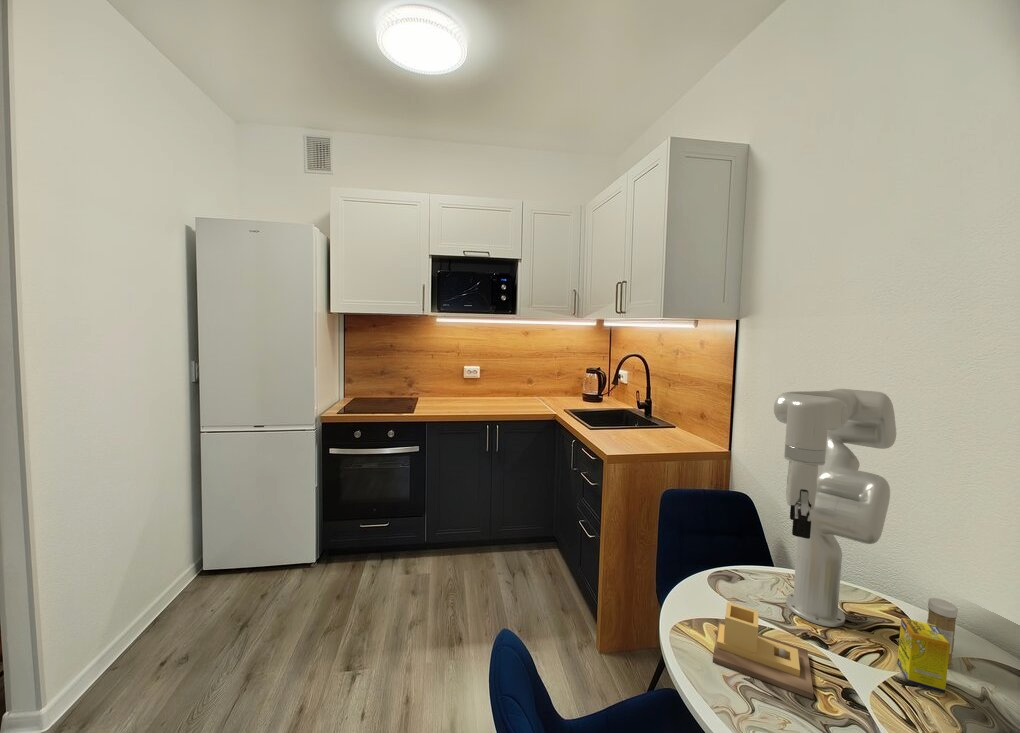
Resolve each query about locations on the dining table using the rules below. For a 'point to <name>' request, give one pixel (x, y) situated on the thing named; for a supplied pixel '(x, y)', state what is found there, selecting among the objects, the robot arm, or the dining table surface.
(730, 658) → the base
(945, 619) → the sprinkles bottle
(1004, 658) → the dining table surface
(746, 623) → the tan stepped holder block
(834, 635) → the dining table surface
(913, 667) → the supplement box
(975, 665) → the dining table surface
